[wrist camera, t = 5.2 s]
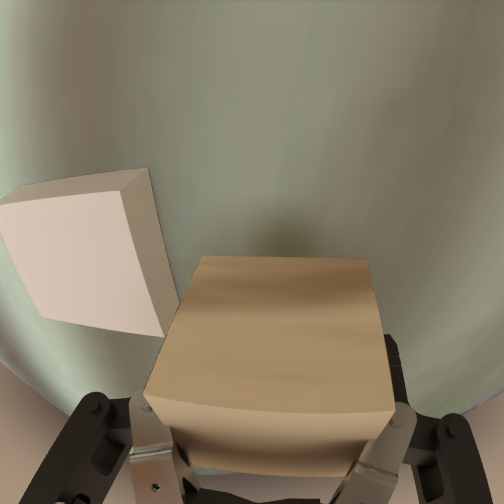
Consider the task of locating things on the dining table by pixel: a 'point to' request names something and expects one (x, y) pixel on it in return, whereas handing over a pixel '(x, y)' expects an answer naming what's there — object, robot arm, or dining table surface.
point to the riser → (92, 251)
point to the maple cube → (275, 366)
